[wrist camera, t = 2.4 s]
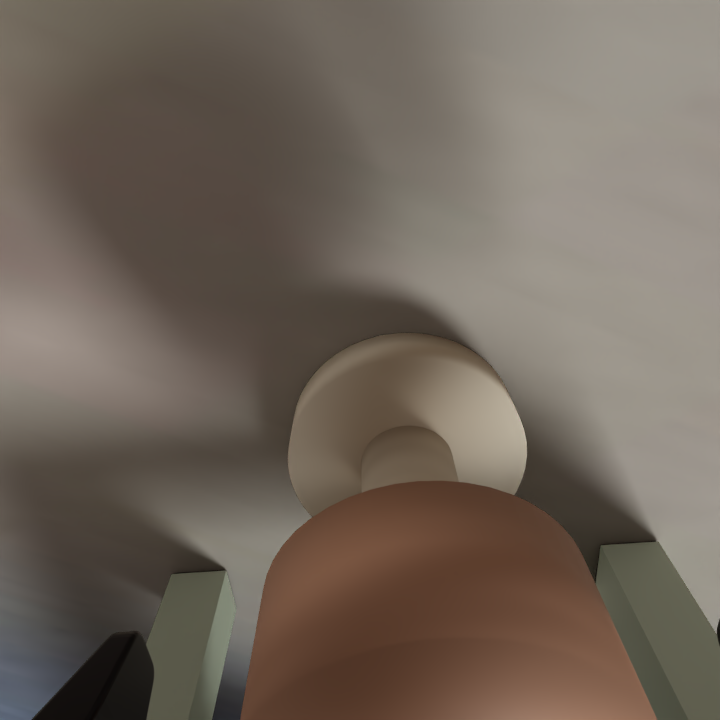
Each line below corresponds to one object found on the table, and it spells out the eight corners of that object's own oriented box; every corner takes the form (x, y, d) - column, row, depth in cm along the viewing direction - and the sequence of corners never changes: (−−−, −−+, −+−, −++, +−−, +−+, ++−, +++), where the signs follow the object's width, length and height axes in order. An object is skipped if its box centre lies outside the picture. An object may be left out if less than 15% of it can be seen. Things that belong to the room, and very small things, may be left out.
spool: (517, 323, 13) (700, 622, 6) (510, 509, 15) (635, 874, 8) (277, 342, 13) (190, 653, 6) (307, 524, 15) (268, 891, 8)
